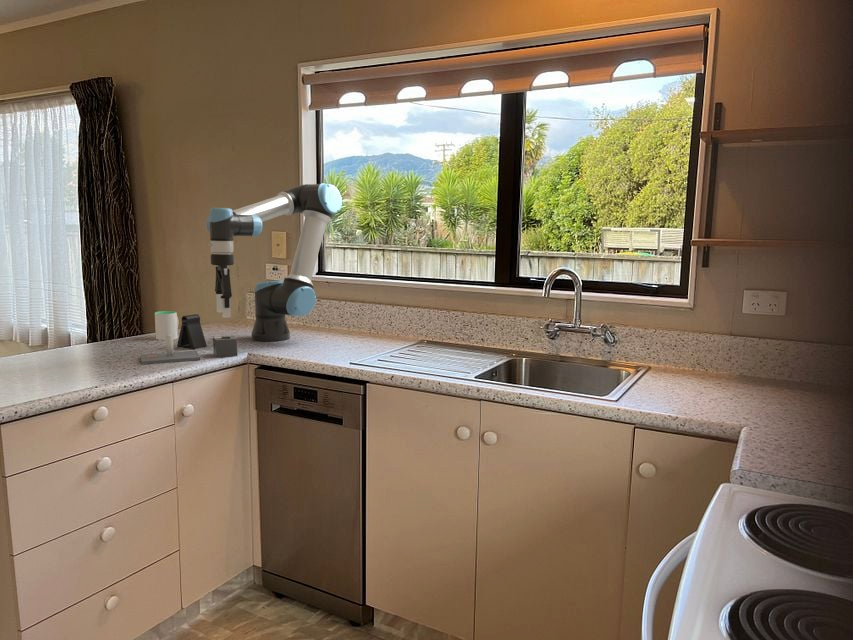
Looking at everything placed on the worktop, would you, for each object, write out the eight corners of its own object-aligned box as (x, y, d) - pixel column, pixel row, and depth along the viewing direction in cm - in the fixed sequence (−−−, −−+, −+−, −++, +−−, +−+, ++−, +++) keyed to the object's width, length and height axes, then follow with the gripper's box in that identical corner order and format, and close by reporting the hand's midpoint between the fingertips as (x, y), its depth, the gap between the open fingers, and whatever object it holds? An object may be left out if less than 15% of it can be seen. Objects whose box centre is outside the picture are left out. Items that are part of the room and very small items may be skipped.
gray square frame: (233, 352, 226) (233, 334, 225) (237, 355, 219) (236, 338, 218) (213, 353, 222) (212, 336, 222) (216, 357, 216) (215, 339, 215)
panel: (196, 353, 222) (195, 331, 221) (200, 360, 212) (199, 336, 210) (140, 357, 214) (139, 334, 213) (141, 364, 204) (140, 340, 202)
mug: (166, 334, 259) (165, 309, 257) (185, 335, 258) (184, 310, 256) (151, 339, 247) (150, 313, 245) (171, 340, 246) (170, 314, 245)
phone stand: (207, 347, 234) (205, 315, 233) (194, 349, 229) (193, 317, 227) (189, 344, 238) (188, 313, 237) (176, 347, 233) (175, 315, 231)
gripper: (205, 251, 225) (207, 310, 228) (215, 255, 203) (217, 320, 206) (227, 252, 228) (228, 310, 231) (239, 255, 206) (241, 319, 209)
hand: (223, 314), depth 219 cm, fingers open, 13 cm apart
